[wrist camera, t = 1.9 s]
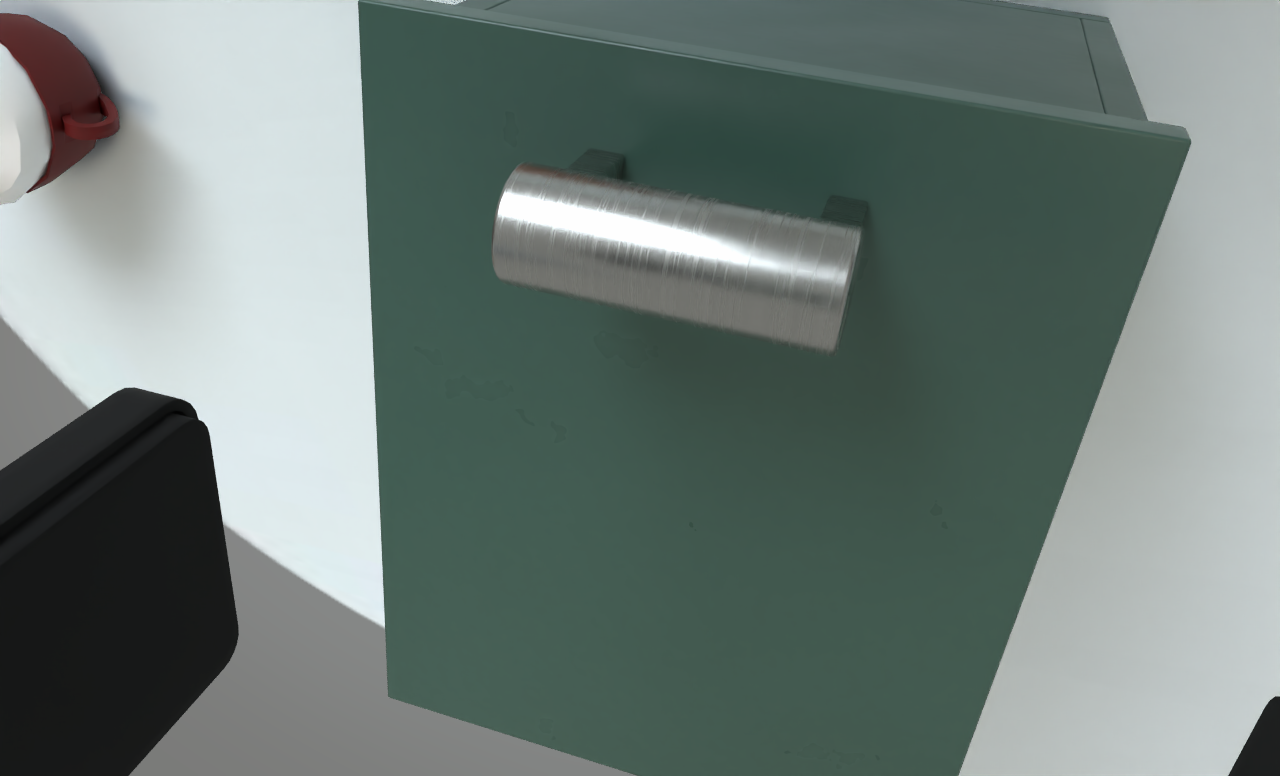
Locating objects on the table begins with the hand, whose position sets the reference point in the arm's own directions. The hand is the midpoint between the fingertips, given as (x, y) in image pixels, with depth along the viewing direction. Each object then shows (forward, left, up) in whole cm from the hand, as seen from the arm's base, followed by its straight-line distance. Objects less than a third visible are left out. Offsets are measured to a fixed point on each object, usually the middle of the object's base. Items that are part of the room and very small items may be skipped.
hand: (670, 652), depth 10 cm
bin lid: (+3, -7, -12) cm, 14 cm away
